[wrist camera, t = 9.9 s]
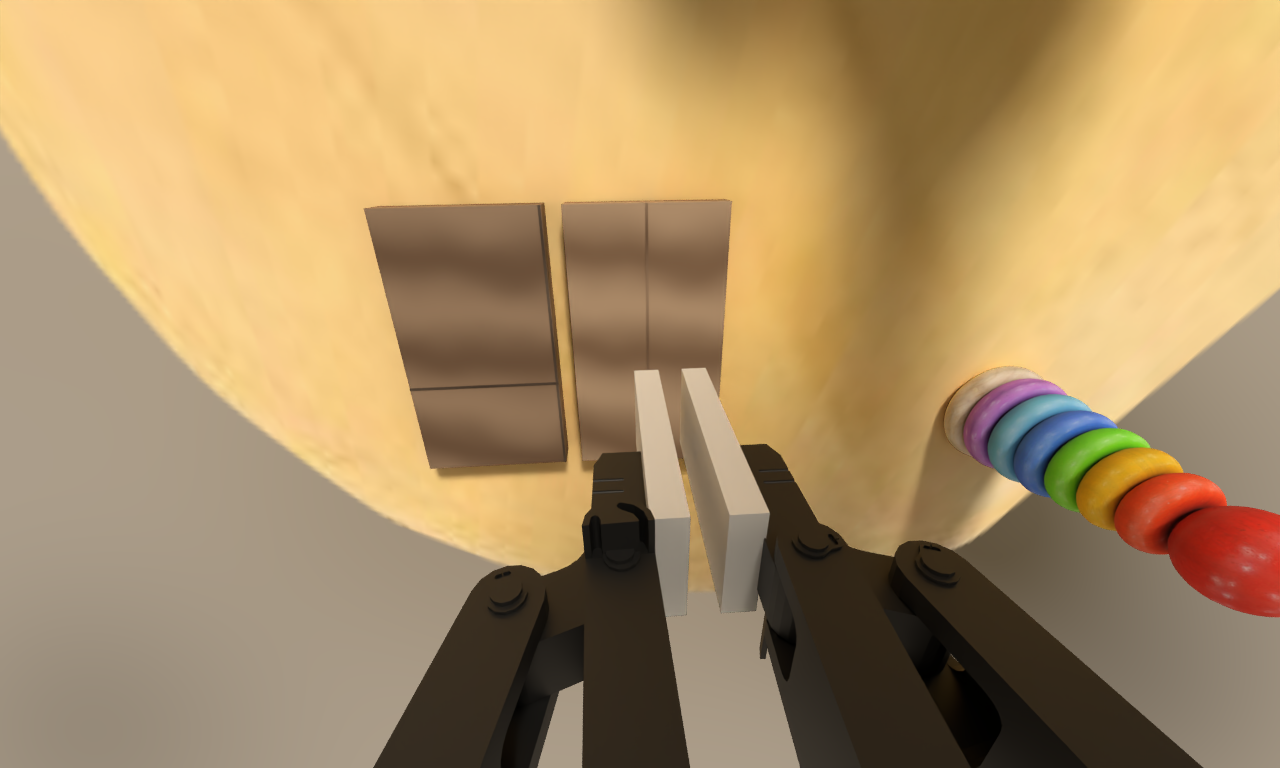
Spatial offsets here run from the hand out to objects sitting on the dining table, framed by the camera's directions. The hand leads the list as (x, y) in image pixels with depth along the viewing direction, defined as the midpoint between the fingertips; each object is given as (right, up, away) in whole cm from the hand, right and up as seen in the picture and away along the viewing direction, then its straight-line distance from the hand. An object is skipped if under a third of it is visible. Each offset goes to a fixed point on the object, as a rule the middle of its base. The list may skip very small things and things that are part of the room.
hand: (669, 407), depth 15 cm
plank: (0, +4, +17) cm, 18 cm away
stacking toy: (+27, -1, +23) cm, 35 cm away
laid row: (-12, +4, +17) cm, 21 cm away
